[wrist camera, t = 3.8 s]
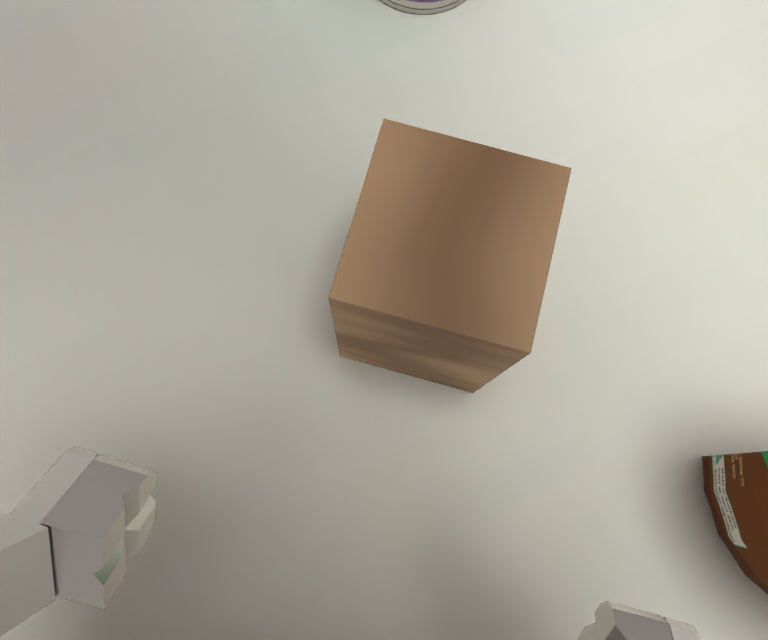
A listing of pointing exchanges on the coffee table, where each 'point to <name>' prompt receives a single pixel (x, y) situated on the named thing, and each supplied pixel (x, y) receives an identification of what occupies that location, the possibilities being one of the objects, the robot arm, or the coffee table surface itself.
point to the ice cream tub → (741, 508)
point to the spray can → (423, 5)
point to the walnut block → (446, 257)
